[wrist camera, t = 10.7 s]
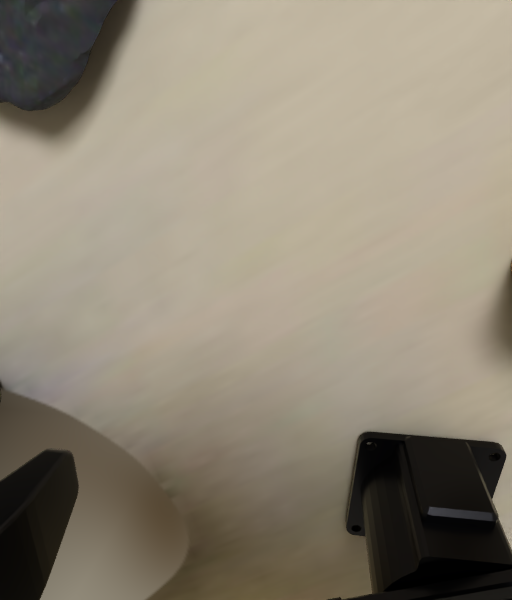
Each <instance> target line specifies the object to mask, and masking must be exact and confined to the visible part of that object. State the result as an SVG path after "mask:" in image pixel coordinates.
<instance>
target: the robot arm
mask: <svg viewBox="0 0 512 600" xmlns="http://www.w3.org/2000/svg"><path fill="white" fill-rule="evenodd" d="M368 442H373V444H367V443H368ZM492 453H496V454H494V455H490V454H492ZM505 460H506V453H505V451H504V449H503V447H502V445H500V444H499V443H495V442H484V441H473V440H461V439H449V438H437V437H425V436H414V435H402V434H390V433H378V432H366V433H364V434H362V435H361V436H360V438H359V442H358V448H357V454H356V460H355V467H354V473H353V479H352V486H351V492H350V498H349V504H348V511H347V517H346V528H347V531H348V532H349V533H350V534H352V535H359V536H366V545H367V553H368V561H369V570H370V578H371V586H372V594H369V595H364V596H358V597H353V598H347V599H341V598H340V597H338V598H333V599H328V600H512V550H511V547H510V545H509V542H508V540H507V538H506V535H505V533H504V530H503V528H502V525H501V523H500V521H499V518H498V513H497V511H496V509H495V506H494V504H493V501H492V498H493V495H494V492H495V489H496V486H497V483H498V480H499V477H500V474H501V472H502V469H503V466H504V463H505ZM78 486H79V485H78V478H77V473H76V467H75V462H74V457H73V454H72V452H71V451H69V450H63V449H52V448H50V449H46V450H44V451H42V452H41V453H40V454H38V455H37V456H35V457H34V458H32V459H31V460H30V461H28V462H27V463H25V464H24V465H22V466H21V467H19V468H18V469H17V470H15V471H14V472H12V473H11V474H9V475H8V476H7V477H6V478H4V479H2V480H1V481H0V600H40V598H41V595H42V593H43V590H44V588H45V586H46V584H47V581H48V578H49V575H50V573H51V570H52V567H53V564H54V562H55V559H56V556H57V553H58V550H59V547H60V544H61V541H62V539H63V536H64V533H65V530H66V527H67V524H68V522H69V519H70V516H71V513H72V510H73V507H74V504H75V501H76V499H77V495H78Z"/></svg>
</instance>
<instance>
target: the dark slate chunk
mask: <svg viewBox="0 0 512 600" xmlns="http://www.w3.org/2000/svg"><path fill="white" fill-rule="evenodd" d="M116 1H117V0H0V102H10V103H12V104H13V105H15V106H17V107H18V108H20V109H23V110H27V111H35V110H43V109H47V108H49V107H51V106H53V105H55V104H56V103H58V102H60V101H61V100H62V99H64V98H65V97H66V95H67V94H68V93H69V92H70V90H71V89H72V88H73V87H74V86H75V85H76V84H77V83H78V81H79V80H80V78H81V76H82V74H83V72H84V69H85V67H86V64H87V62H88V58H89V54H90V51H91V49H92V46H93V44H94V42H95V40H96V38H97V36H98V34H99V32H100V30H101V27H102V25H103V22H104V20H105V18H106V16H107V14H108V13H109V11H110V9H111V8H112V6H113V5H114V4H115V2H116Z"/></svg>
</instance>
